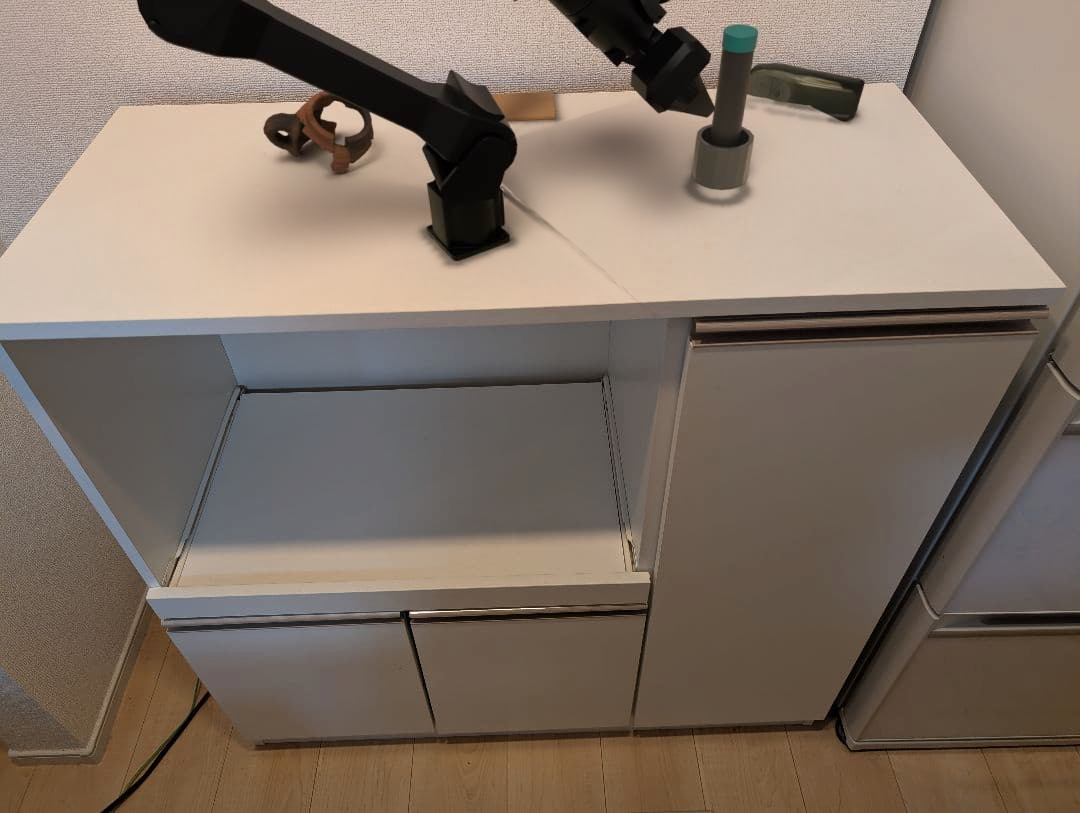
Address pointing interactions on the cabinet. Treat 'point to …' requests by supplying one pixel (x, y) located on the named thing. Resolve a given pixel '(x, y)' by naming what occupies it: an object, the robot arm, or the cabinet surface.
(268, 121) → the brown curved ring piece
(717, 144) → the marker
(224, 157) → the cabinet surface
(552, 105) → the cork pad
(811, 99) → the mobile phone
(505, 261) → the cabinet surface
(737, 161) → the pen pot
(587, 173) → the cabinet surface
